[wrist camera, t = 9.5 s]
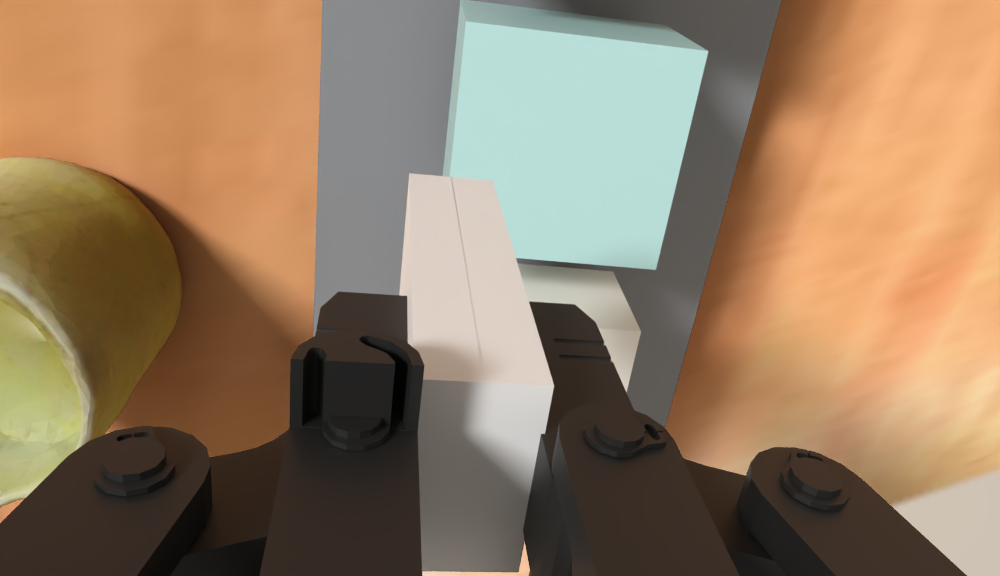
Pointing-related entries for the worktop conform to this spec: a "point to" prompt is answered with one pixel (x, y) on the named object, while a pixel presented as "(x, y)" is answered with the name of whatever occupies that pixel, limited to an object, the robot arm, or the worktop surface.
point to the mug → (73, 310)
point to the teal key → (573, 127)
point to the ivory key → (590, 306)
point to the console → (422, 140)
